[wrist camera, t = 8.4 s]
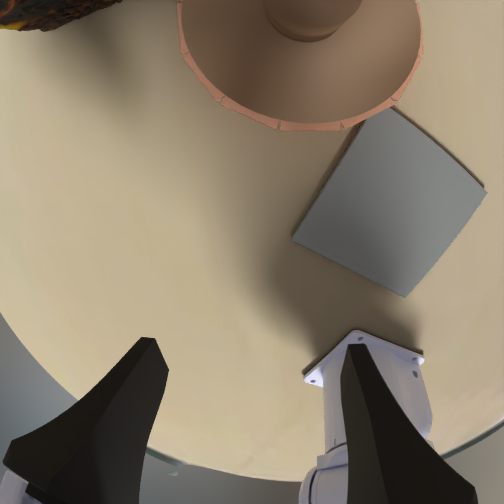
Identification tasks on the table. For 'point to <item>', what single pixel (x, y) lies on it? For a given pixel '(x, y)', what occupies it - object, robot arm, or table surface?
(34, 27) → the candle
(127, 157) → the table surface
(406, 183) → the mat
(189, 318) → the table surface
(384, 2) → the lid
